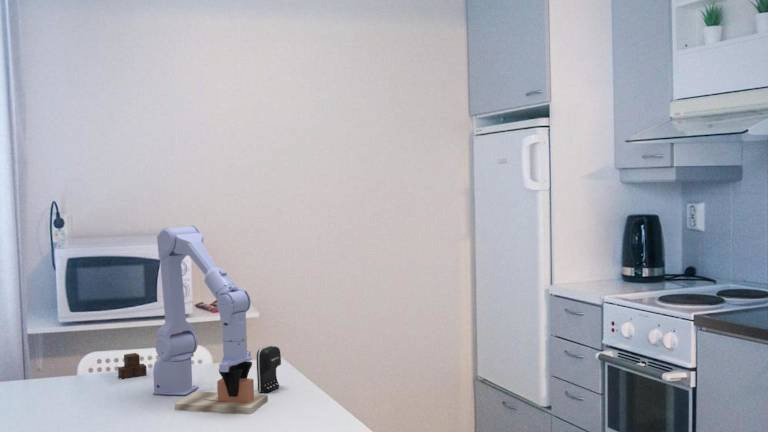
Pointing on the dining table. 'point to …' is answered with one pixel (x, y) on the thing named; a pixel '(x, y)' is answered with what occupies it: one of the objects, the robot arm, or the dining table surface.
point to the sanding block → (243, 394)
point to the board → (218, 403)
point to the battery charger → (268, 368)
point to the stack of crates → (132, 367)
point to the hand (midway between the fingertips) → (236, 393)
